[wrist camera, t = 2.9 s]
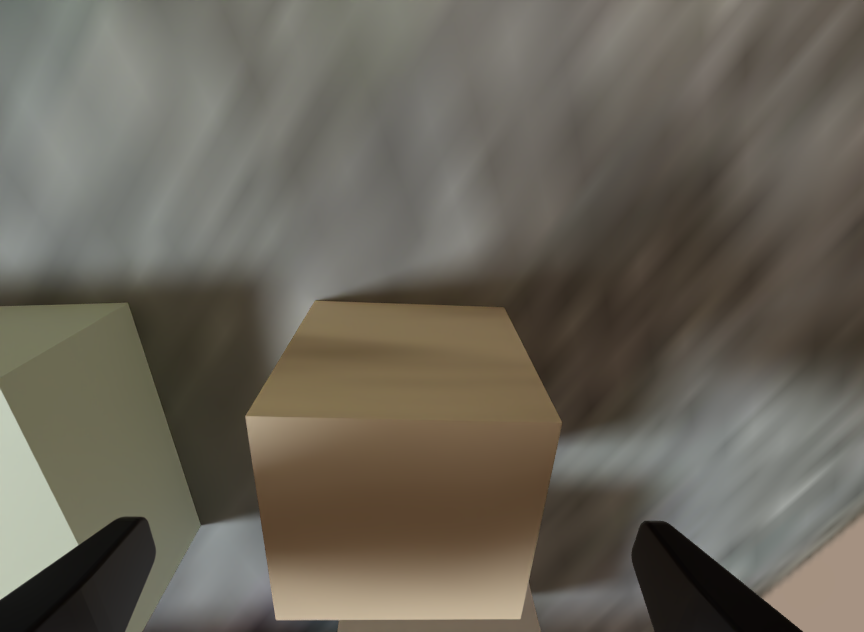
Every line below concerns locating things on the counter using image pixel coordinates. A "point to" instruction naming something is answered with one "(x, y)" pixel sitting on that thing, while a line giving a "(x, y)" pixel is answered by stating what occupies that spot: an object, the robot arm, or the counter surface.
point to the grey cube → (450, 623)
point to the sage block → (84, 443)
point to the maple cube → (402, 464)
